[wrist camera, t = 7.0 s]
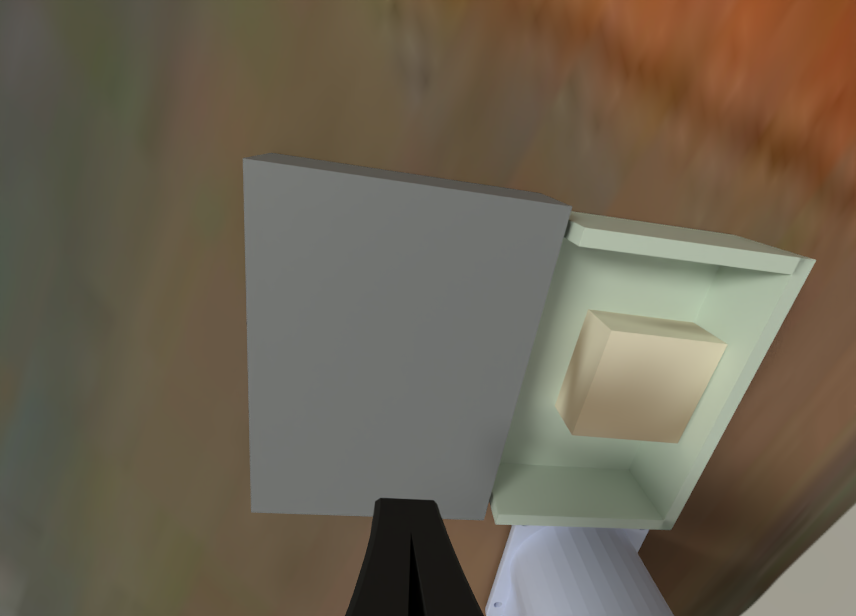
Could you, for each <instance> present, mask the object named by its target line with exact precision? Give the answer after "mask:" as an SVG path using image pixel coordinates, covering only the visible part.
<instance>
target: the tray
mask: <svg viewBox="0 0 856 616" xmlns="http://www.w3.org/2000/svg"><path fill="white" fill-rule="evenodd" d="M815 261H816V260H815V259H811V258H808V257H805V256H801V255H798V254H795V253H792V252H788V251H785V250H782V249H779V248H775V247H772V246H769V245H765V244H762V243H759V242H756V241H752V240H749V239H746V238H743V237H739V236H736V235H731V234H724V233H717V232H710V231H703V230H697V229H690V228H683V227H676V226H669V225H662V224H655V223H648V222H642V221H635V220H628V219H621V218H614V217H607V216H600V215H593V214H586V213H580V212H573V211H571V213H570V216H569V220H568V223H567V227H566V231H565V234H564V238H563V241H562V245H561V248H560V252H559V255H558V259H557V262H556V266H555V269H554V273H553V277H552V280H551V284H550V287H549V291H548V294H547V298H546V301H545V305H544V308H543V312H542V315H541V319H540V322H539V326H538V330H537V333H536V337H535V340H534V344H533V347H532V351H531V354H530V358H529V361H528V365H527V368H526V372H525V376H524V379H523V383H522V386H521V390H520V393H519V397H518V400H517V404H516V407H515V411H514V414H513V418H512V421H511V425H510V429H509V432H508V436H507V439H506V443H505V446H504V450H503V453H502V457H501V460H500V464H499V467H498V471H497V475H496V478H495V482H494V485H493V489H492V492H491V496H490V499H489V502H490V505H491V509H492V513H493V517H494V520H495V524H502V525H533V526H563V527H594V528H624V529H655V530H671V529H672V528H673V526H674V524H675V522H676V520H677V518H678V516H679V514H680V513H681V511H682V509H683V507H684V505H685V503H686V501H687V500H688V498H689V496H690V494H691V492H692V490H693V488H694V487H695V485H696V483H697V481H698V479H699V477H700V475H701V474H702V472H703V470H704V468H705V466H706V464H707V462H708V461H709V459H710V457H711V455H712V453H713V451H714V449H715V447H716V446H717V444H718V442H719V440H720V438H721V436H722V434H723V433H724V431H725V429H726V427H727V425H728V423H729V421H730V420H731V418H732V416H733V414H734V412H735V410H736V408H737V407H738V405H739V403H740V401H741V399H742V397H743V395H744V394H745V392H746V390H747V388H748V386H749V384H750V382H751V380H752V379H753V377H754V375H755V373H756V371H757V369H758V367H759V366H760V364H761V362H762V360H763V358H764V356H765V354H766V353H767V351H768V349H769V347H770V345H771V343H772V341H773V340H774V338H775V336H776V334H777V332H778V330H779V328H780V326H781V325H782V323H783V321H784V319H785V317H786V315H787V313H788V312H789V310H790V308H791V306H792V304H793V302H794V300H795V299H796V297H797V295H798V293H799V291H800V289H801V287H802V286H803V284H804V282H805V280H806V278H807V276H808V274H809V273H810V271H811V269H812V267H813V265H814V263H815ZM588 309H590V310H598V311H606V312H614V313H622V314H630V315H638V316H646V317H654V318H662V319H670V320H678V321H686V322H694V323H695V324H697V325H698V326H700V327H701V328H703V329H705V330H706V331H708V332H709V333H711V334H712V335H714V336H716V337H717V338H719V339H720V340H722V341H723V342H725V343H727V344H728V345H727V347H726V349H725V351H724V353H723V355H722V357H721V359H720V361H719V363H718V365H717V367H716V369H715V371H714V373H713V375H712V377H711V379H710V381H709V383H708V385H707V387H706V389H705V391H704V393H703V395H702V396H701V398H700V400H699V402H698V404H697V406H696V408H695V410H694V412H693V414H692V416H691V418H690V420H689V422H688V424H687V426H686V428H685V430H684V432H683V434H682V436H681V438H680V440H679V442H678V443H665V442H652V441H639V440H627V439H614V438H601V437H588V436H576V435H572V434H571V433H570V431H569V429H568V428H567V426H566V424H565V423H564V421H563V419H562V417H561V416H560V414H559V412H558V411H557V409H556V407H555V404H556V401H557V398H558V395H559V392H560V389H561V386H562V384H563V381H564V378H565V375H566V372H567V369H568V366H569V363H570V360H571V357H572V355H573V352H574V349H575V346H576V343H577V340H578V337H579V334H580V331H581V328H582V326H583V323H584V320H585V317H586V314H587V311H588Z"/></svg>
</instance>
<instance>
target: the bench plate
mask: <svg viewBox="0 0 856 616" xmlns="http://www.w3.org/2000/svg"><path fill="white" fill-rule="evenodd" d="M243 180H244V223H245V266H246V308H247V351H248V394H249V437H250V480H251V512H258V513H288V514H317V515H346V516H373V512H374V505H375V501H376V500H378V499H379V498H398V499H421V500H434V501H435V502H436V503H437V505H438V508H439V511H440V514H441V517H442V519H464V520H484V517H485V513H486V510H487V506H488V503H489V499H490V496H491V492H492V489H493V485H494V482H495V478H496V475H497V471H498V467H499V464H500V460H501V457H502V453H503V450H504V446H505V443H506V439H507V436H508V432H509V429H510V425H511V421H512V418H513V414H514V411H515V407H516V404H517V400H518V397H519V393H520V390H521V386H522V383H523V379H524V376H525V372H526V368H527V365H528V361H529V358H530V354H531V351H532V347H533V344H534V340H535V337H536V333H537V330H538V326H539V322H540V319H541V315H542V312H543V308H544V305H545V301H546V298H547V294H548V291H549V287H550V284H551V280H552V277H553V273H554V269H555V266H556V262H557V259H558V255H559V252H560V248H561V245H562V241H563V238H564V234H565V231H566V227H567V223H568V220H569V216H570V213H571V209H572V206H569V205H567V204H565V203H562V202H560V201H558V200H555V199H553V198H551V197H548V196H546V195H543V194H541V193H535V192H529V191H522V190H515V189H509V188H502V187H495V186H489V185H482V184H475V183H469V182H462V181H455V180H449V179H442V178H435V177H429V176H422V175H415V174H409V173H402V172H395V171H389V170H382V169H375V168H369V167H362V166H355V165H349V164H342V163H335V162H329V161H322V160H315V159H309V158H302V157H295V156H289V155H282V154H275V153H268V154H263V155H257V156H252V157H247V158H243Z"/></svg>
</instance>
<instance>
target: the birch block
mask: <svg viewBox="0 0 856 616" xmlns="http://www.w3.org/2000/svg"><path fill="white" fill-rule="evenodd" d="M727 345H728V344H727V343H725V342H723V341H722V340H720V339H719V338H717V337H716V336H714V335H712V334H711V333H709V332H708V331H706V330H705V329H703V328H701V327H700V326H698V325H697V324H695V323H694V322H686V321H678V320H670V319H662V318H654V317H646V316H638V315H630V314H622V313H614V312H606V311H598V310H590V309H588V311H587V314H586V317H585V320H584V323H583V326H582V328H581V331H580V334H579V337H578V340H577V343H576V346H575V349H574V352H573V355H572V357H571V360H570V363H569V366H568V369H567V372H566V375H565V378H564V381H563V384H562V386H561V389H560V392H559V395H558V398H557V401H556V404H555V407H556V409H557V411H558V412H559V414H560V416H561V417H562V419H563V421H564V423H565V424H566V426H567V428H568V429H569V431H570V433H571V434H572V435H576V436H588V437H601V438H614V439H627V440H639V441H652V442H665V443H678V442H679V440H680V438H681V436H682V434H683V432H684V430H685V428H686V426H687V424H688V422H689V420H690V418H691V416H692V414H693V412H694V410H695V408H696V406H697V404H698V402H699V400H700V398H701V396H702V395H703V393H704V391H705V389H706V387H707V385H708V383H709V381H710V379H711V377H712V375H713V373H714V371H715V369H716V367H717V365H718V363H719V361H720V359H721V357H722V355H723V353H724V351H725V349H726V347H727Z"/></svg>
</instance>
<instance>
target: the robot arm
mask: <svg viewBox="0 0 856 616" xmlns="http://www.w3.org/2000/svg"><path fill="white" fill-rule="evenodd" d="M648 531H649V529H624V528H594V527H563V526H533V525H512V528H511V531H510V534H509V537H508V540H507V543H506V546H505V549H504V553H503V556H502V559H501V562H500V565H499V568H498V571H497V574H496V577H495V580H494V584H493V587H492V590H491V593H490V596H489V599H488V602H487V605H486V608H485V612H486V616H674V615H673V613H672V611H671V610H670V608H669V606H668V605H667V603H666V601H665V599H664V598H663V596H662V594H661V593H660V591H659V589H658V588H657V586H656V584H655V582H654V581H653V579H652V577H651V576H650V574H649V572H648V570H647V569H646V567H645V565H644V564H643V562H642V560H641V558H640V557H639V555H638V551H639V549H640V547H641V545H642V543H643V541H644V539H645V537H646V535H647V533H648ZM345 616H484V615H483V613H482V611H481V609H480V607H479V605H478V603H477V601H476V598H475V596H474V594H473V592H472V590H471V588H470V586H469V583H468V581H467V579H466V577H465V575H464V573H463V570H462V568H461V566H460V563H459V561H458V559H457V556H456V554H455V551H454V549H453V547H452V544H451V542H450V539H449V536H448V534H447V531H446V528H445V526H444V523H443V520H442V517H441V514H440V511H439V508H438V505H437V503H436V502H435V501H434V500H421V499H398V498H379V499H378V500H376V501H375V505H374V512H373V520H372V527H371V534H370V539H369V543H368V546H367V550H366V554H365V558H364V561H363V564H362V567H361V571H360V574H359V577H358V580H357V583H356V586H355V589H354V593H353V596H352V598H351V601H350V604H349V607H348V610H347V612H346V615H345Z"/></svg>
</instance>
